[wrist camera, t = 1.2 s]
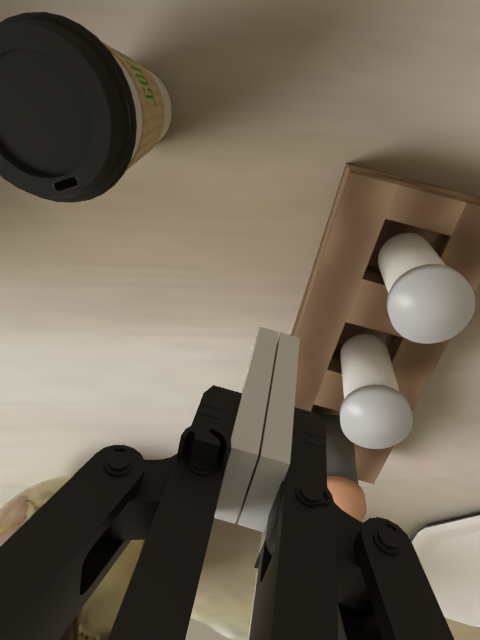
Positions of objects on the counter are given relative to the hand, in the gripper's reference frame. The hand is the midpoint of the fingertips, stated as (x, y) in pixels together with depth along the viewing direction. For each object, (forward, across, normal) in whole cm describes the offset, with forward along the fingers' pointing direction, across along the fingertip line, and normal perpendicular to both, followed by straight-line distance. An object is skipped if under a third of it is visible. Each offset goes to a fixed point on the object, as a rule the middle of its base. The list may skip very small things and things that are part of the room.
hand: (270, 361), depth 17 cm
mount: (+24, +9, -9) cm, 27 cm away
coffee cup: (+25, -15, +5) cm, 29 cm away
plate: (+25, +34, -36) cm, 55 cm away
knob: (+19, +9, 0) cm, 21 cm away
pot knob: (+19, +9, -18) cm, 28 cm away
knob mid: (+19, +9, -9) cm, 23 cm away
